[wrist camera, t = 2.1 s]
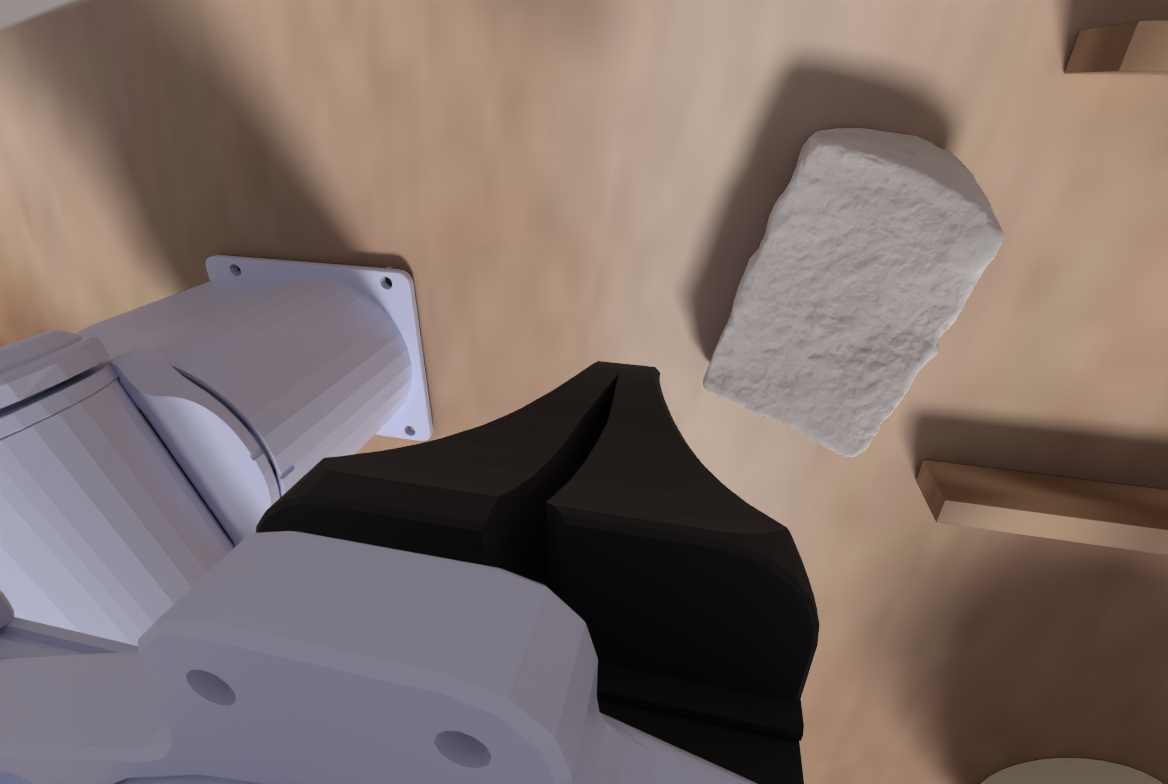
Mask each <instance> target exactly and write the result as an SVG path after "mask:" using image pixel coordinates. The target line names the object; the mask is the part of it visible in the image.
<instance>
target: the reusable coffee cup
mask: <svg viewBox="0 0 1168 784" xmlns="http://www.w3.org/2000/svg"><path fill="white" fill-rule="evenodd" d="M981 784H1163V783H1161V782H1160V781H1159V780H1157V779H1155V778H1153V777H1152V776H1150V775H1148V774H1146V773H1144V772H1142V771H1139V770H1136V769H1133V768H1130V767H1128V766H1125V765H1120V764H1116V763H1112V762H1107V761H1102V760H1093V759H1085V758H1053V759H1041V760H1035V761H1030V762H1025V763H1020V764H1017V765H1014V766H1011V767H1008V768H1005V769H1003V770H1001V771H999V772H997V773H995V774H993V775H991V776H989V777H988V778H987V779H986V780H984V781H983V782H982V783H981Z"/></svg>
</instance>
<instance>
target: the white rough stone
mask: <svg viewBox="0 0 1168 784" xmlns="http://www.w3.org/2000/svg"><path fill="white" fill-rule="evenodd" d="M1003 236H1004V233H1003V231H1002V229H1001V227H1000V225H999V223H998V221H997V219H996V217H995V215H994V213H993V210H992V208H991V205H990V203H989V201H988V199H987V197H986V195H985V194H984V192H983V191H982V189H981V188H980V186H979V185H978V184H977V182H976V180H975V178H974V176H973V174H972V173H971V172H970V171H969V170H968V169H967V168H966V167H965V166H964V165H963V164H962V162H961V161H960V160H959V159H958V158H957V157H956V156H954V154H952V153H951V152H949V151H948V150H944V149H942V148H939V147H937V146H936V145H934V144H932V143H931V142H930V141H927V140H925V139H922V138H920V137H918V136H914V135H906V134H899V133H894V132H884V131H880V130H874V129H864V128H835V129H827V130H820V131H817V132H815V133H814V134H813V135H812V136H810V137H809V138H808V140H807V141H806V143H804V145H803V147H802V149H801V152H800V155H799V158H798V162H797V165H796V168H795V170H794V173H793V176H792V179H791V181H790V183H789V184H788V186H787V188H786V190H785V192H783V193H782V194H781V195H780V197H779V198H778V199H777V201H776V203H775V205H774V207H773V209H772V212H771V213H770V216H769V219H768V222H767V226H766V232H765V235H764V237H763V239H762V241H761V243H760V246H759V248H758V250H757V251H756V252H755V253H754V254H753V256H751V257H750V259H749V261H748V264H747V267H746V270H745V272H744V275H743V277H742V279H741V281H740V284H739V287H738V289H737V293H736V296H735V299H734V302H733V307H732V311H731V314H730V317H729V320H728V323H727V324H726V326H725V329H724V331H723V333H722V334H721V336H720V339H719V341H718V344H717V346H716V349H715V351H714V353H713V356H712V358H711V362H710V364H709V366H708V369H707V371H706V374H705V376H704V379H703V385H704V388H705V389H706V390H707V391H708V392H710V393H713V394H715V395H717V396H719V397H722V398H724V399H726V400H728V401H730V402H732V403H733V404H736V405H739V406H741V407H743V408H745V409H747V410H749V411H751V412H754V413H757V414H760V415H763V416H765V417H769V418H771V419H774V420H777V421H780V422H782V423H783V424H786V425H789V426H792V427H794V428H795V429H797V430H799V431H800V432H802V433H803V434H805V435H806V436H808V437H810V438H812V439H814V440H816V441H817V442H818V443H819V444H821V445H822V446H824V447H826V448H828V449H830V450H833V451H835V452H837V453H839V454H841V455H843V456H846V457H855V456H857V455H858V454H859V453H861V452H863V451H865V450H866V449H867V447H868V446H869V445H870V444H871V440H872V438H873V436H874V435H876V434H877V433H878V432H879V430H880V425H881V424H882V423H883V421H885V419H886V418H888V417H889V416H890V415H891V413H892V412H893V410H894V409H895V408H896V407H897V406H898V404H899V403H900V401H901V400H902V398H903V397H904V395H905V394H906V393H907V391H908V389H909V388H910V386H911V384H912V382H913V380H914V378H915V377H916V375H917V373H918V372H919V370H920V369H921V368H922V367H923V366H924V365H925V364H926V363H927V362H928V361H929V360H930V359H932V358H933V357H935V356H936V355H937V354H938V352H939V347H938V344H937V340H938V339H939V338H940V337H941V336H942V334H943V333H944V332H945V331H946V330H948V329H949V327H950V326H951V325H952V324H953V323H954V322H955V320H956V319H957V317H958V315H959V313H960V311H961V310H962V308H963V306H964V304H965V302H966V300H967V298H968V297H969V295H970V294H971V293H972V291H973V290H974V287H975V285H976V283H977V282H978V280H979V278H980V276H981V275H982V273H983V271H984V270H985V268H986V267H987V265H988V264H989V262H991V261H992V260H993V258H994V257H995V255H996V253H997V251H998V249H999V247H1000V246H1001V244H1002V240H1003Z"/></svg>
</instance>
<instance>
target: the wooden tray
mask: <svg viewBox="0 0 1168 784" xmlns="http://www.w3.org/2000/svg"><path fill="white" fill-rule="evenodd" d="M1065 73H1073V74H1168V21H1135V22H1129V23H1123V24H1117V25H1111V26H1105V27H1099V28H1093V29H1087V30H1081V31H1079V34H1078V37H1077V40H1076V42H1075V45H1074V48H1073V51H1072V53H1071V56H1070V59H1069V62H1068V64H1067V67H1066V70H1065ZM916 482H917V484H918V486H919V488H920V490H921V492H922V494H923V496H924V498H925V500H926V502H927V504H928V506H929V508H930V510H931V512H932V514H933V516H934V518H935V520H936V522H938V523H945V524H952V525H959V526H966V527H973V528H980V529H987V530H994V531H1001V532H1008V533H1015V534H1022V535H1029V536H1036V537H1044V538H1051V539H1058V540H1065V541H1072V542H1079V543H1086V544H1093V545H1100V546H1107V547H1114V548H1121V549H1128V550H1135V551H1142V552H1149V553H1156V554H1163V555H1168V490H1165V489H1157V488H1149V487H1140V486H1132V485H1124V484H1116V483H1108V482H1100V481H1092V480H1084V479H1076V478H1068V477H1060V476H1052V475H1044V474H1035V473H1027V472H1019V471H1011V470H1003V469H995V468H987V467H979V466H971V465H963V464H955V463H947V462H938V461H930V460H923V462H922V465H921V468H920V471H919V473H918V476H917V479H916Z"/></svg>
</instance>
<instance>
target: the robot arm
mask: <svg viewBox="0 0 1168 784" xmlns="http://www.w3.org/2000/svg"><path fill="white" fill-rule="evenodd" d="M205 264H206V269H207V273H208V276H209V279H210V281H209V282H206V283H204V284H201V285H198V286H196V287H193V288H190V289H188V290H185V291H182V292H180V293H177V294H174V295H171V296H169V297H166V298H163V299H161V300H158V301H155V302H153V303H150V304H147V305H145V306H142V307H139V308H137V309H134V310H131V311H128V312H126V313H123V314H120V315H118V316H115V317H112V318H110V319H107V320H104V321H102V322H99V323H96V324H94V325H91V326H89V327H87V328H85V329H83V330H81V331H79V332H78V333H76V334H74V333H71V332H67V331H63V330H59V329H56V330H51V331H48V332H45V333H41V334H38V335H35V336H32V337H29V338H25V339H22V340H19V341H16V342H13V343H10V344H7V345H4V346H1V347H0V784H804V780H803V772H802V763H801V754H800V745H799V740H800V741H801V739H802V736H803V727H804V724H803V716H802V708H801V700H800V698H801V695H802V692H803V689H804V686H805V682H806V679H807V676H808V673H809V670H810V666H811V663H812V660H813V657H814V654H815V651H816V647H817V642H818V632H819V620H818V614H817V607H816V603H815V599H814V595H813V592H812V588H811V585H810V582H809V579H808V576H807V573H806V571H805V568H804V565H803V562H802V559H801V557H800V555H799V552H798V550H797V547H796V545H795V543H794V540H793V538H792V536H791V534H790V532H789V530H788V529H787V527H785V526H783V525H782V524H780V523H778V522H777V521H775V520H774V519H772V518H770V517H769V516H767V515H765V514H764V513H762V512H760V511H759V510H757V509H756V508H754V507H752V506H751V505H749V504H748V503H746V502H745V501H744V500H742V499H741V498H740V497H738V496H737V495H736V494H735V493H733V492H732V491H731V490H729V489H728V488H727V487H726V486H725V485H723V484H722V483H721V482H720V481H719V480H718V479H717V478H716V477H715V476H714V475H713V474H712V473H711V472H710V471H709V470H708V469H707V468H706V467H705V466H704V465H703V464H702V463H701V462H700V460H699V459H698V458H697V457H696V455H695V454H694V453H693V451H692V450H691V449H690V447H689V446H688V444H687V443H686V441H685V440H684V438H683V437H682V435H681V433H680V432H679V430H678V428H677V426H676V424H675V423H674V421H673V418H672V416H671V414H670V412H669V410H668V407H667V405H666V402H665V400H664V397H663V394H662V390H661V387H660V382H659V379H660V372H659V371H658V370H657V369H656V368H655V367H648V366H639V365H629V364H620V363H610V362H601V361H598V362H596V363H594V364H592V365H591V366H589V367H588V368H586V369H585V370H583V371H582V372H580V373H579V374H577V375H576V376H574V377H573V378H571V379H570V380H568V381H567V382H565V383H564V384H562V385H561V386H559V387H558V388H556V389H554V390H553V391H551V392H550V393H548V394H546V395H544V396H542V397H541V398H539V399H537V400H535V401H533V402H532V403H530V404H528V405H526V406H525V407H523V408H521V409H519V410H517V411H515V412H513V413H510V414H508V415H506V416H504V417H501V418H499V419H497V420H494V421H492V422H489V423H487V424H484V425H482V426H479V427H476V428H473V429H470V430H466V431H463V432H460V433H457V434H454V435H451V436H447V437H444V438H441V439H437V440H433V441H429V442H425V443H420V444H416V445H411V446H406V447H401V448H396V449H390V450H384V451H378V452H370V453H362V454H355V453H356V452H357V451H358V450H360V449H361V448H362V447H363V446H364V445H365V444H366V443H367V442H368V441H369V440H370V439H371V438H372V437H373V436H374V435H375V434H376V435H383V436H390V437H397V438H404V439H412V440H419V441H426V440H428V439H429V438H430V437H431V435H432V434H433V424H432V417H431V410H430V402H429V395H428V387H427V380H426V373H425V365H424V358H423V351H422V343H421V336H420V328H419V321H418V314H417V306H416V299H415V292H414V284H413V280H412V277H411V276H410V275H409V273H407V272H406V271H404V270H401V269H390V268H377V267H364V266H352V265H339V264H327V263H314V262H301V261H289V260H276V259H264V258H251V257H238V256H226V255H214V256H211V257H209V258H207V259H206V263H205ZM237 266H238V267H239V268H240V270H241V272H240V271H238V269H237ZM385 277H388V278H389V279H390V280H391V282H392V286H389V285H388V284H387V283H386V281H385ZM409 426H410V427H412V428H413V429H414V430H415V431H412V430H411V429H410V428H409Z"/></svg>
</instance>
